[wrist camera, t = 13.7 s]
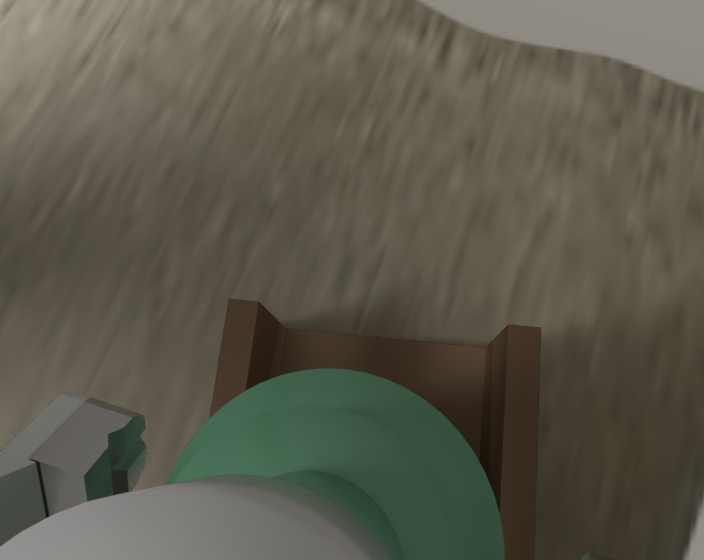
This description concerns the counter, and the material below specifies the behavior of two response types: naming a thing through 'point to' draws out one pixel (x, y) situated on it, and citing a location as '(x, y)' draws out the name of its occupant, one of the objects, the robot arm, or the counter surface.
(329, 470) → the green bottle
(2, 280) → the counter surface
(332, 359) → the bottle stand
